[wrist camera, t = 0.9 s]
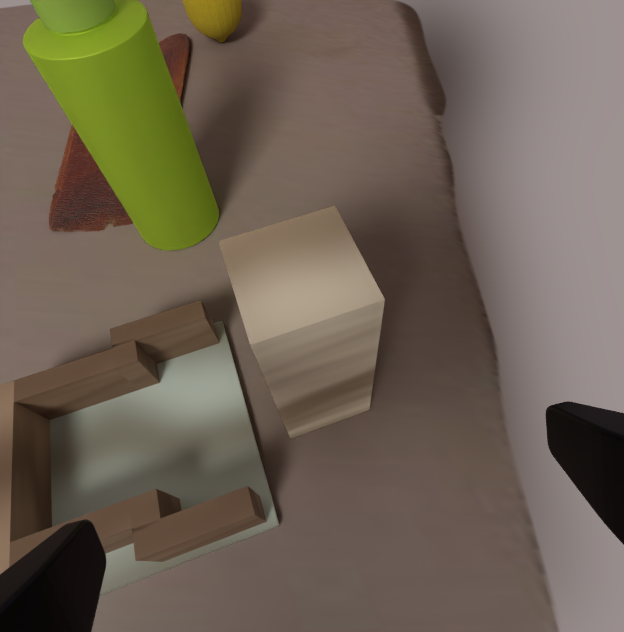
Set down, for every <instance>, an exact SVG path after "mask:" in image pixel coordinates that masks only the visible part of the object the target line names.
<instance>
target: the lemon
mask: <svg viewBox="0 0 624 632" xmlns="http://www.w3.org/2000/svg"><path fill="white" fill-rule="evenodd" d="M183 4H184V7H185V10H186V13H187V15H188V17H189V19H190V21H191V22H192V24H193V25H194V26H195V28H196V29H197V30H198V31H199V32H201V33H202V34H204V35H205V36H207V37H210V38H215V39H216V40H217V41H219V42H224V41H225V40H226V38H227V36H229V35H230V34H232V33H233V32H234V31H235V29H236V28H237V26H238V24H239V22H240V19H241V13H242V0H183Z"/></svg>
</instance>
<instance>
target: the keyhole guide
mask: <svg viewBox="0 0 624 632" xmlns="http://www.w3.org/2000/svg"><path fill="white" fill-rule="evenodd" d="M110 333H111V342H112V349H109V350H106V351H103V352H100V353H97V354H94V355H91V356H88V357H85V358H82V359H79V360H76V361H73V362H69V363H66V364H63V365H60V366H57V367H54V368H51V369H48V370H45V371H42V372H39V373H36V374H33V375H30V376H27V377H24V378H20V379H17V380H14V381H11V382H8V383H5V384H2V385H0V574H1V573H3V572H4V571H5V570H6V569H8V568H9V567H10V566H12V565H13V564H14V563H16V562H17V561H18V560H19V559H21V558H22V557H23V556H25V555H26V554H27V553H29V552H30V551H31V550H32V549H34V548H35V547H36V546H38V545H39V544H40V543H41V542H43V541H44V540H45V539H47V538H48V537H49V536H51V535H52V534H53V533H54V532H56V531H57V530H58V529H60V528H61V527H62V526H64V525H65V524H68V523H72V522H76V521H80V520H84V519H87V520H90V521H91V522H92V523H93V525H94V527H95V529H96V532H97V534H98V536H99V539H100V541H101V544H102V546H103V548H104V551H105V554H106V570H105V574H104V578H103V583H102V587H101V591H100V595H102V594H105V593H107V592H110V591H113V590H115V589H118V588H120V587H123V586H125V585H128V584H130V583H133V582H136V581H138V580H141V579H143V578H146V577H148V576H151V575H154V574H156V573H159V572H161V571H164V570H166V569H169V568H171V567H174V566H177V565H179V564H182V563H184V562H187V561H189V560H192V559H194V558H197V557H200V556H202V555H205V554H207V553H210V552H212V551H215V550H218V549H220V548H223V547H225V546H228V545H230V544H233V543H235V542H238V541H241V540H243V539H246V538H248V537H251V536H253V535H256V534H258V533H261V532H264V531H266V530H269V529H271V528H274V527H276V526H279V521H278V518H277V514H276V510H275V507H274V503H273V500H272V496H271V492H270V489H269V485H268V482H267V478H266V474H265V471H264V467H263V464H262V460H261V456H260V453H259V449H258V446H257V442H256V438H255V435H254V431H253V427H252V424H251V420H250V417H249V413H248V409H247V406H246V402H245V399H244V395H243V391H242V388H241V384H240V381H239V377H238V373H237V370H236V366H235V362H234V359H233V355H232V352H231V348H230V344H229V341H228V337H227V334H226V330H225V326H224V323H223V321H222V320H221V321H218V322H215V323H213V322H212V320H211V318H210V316H209V314H208V312H207V311H206V309H205V307H204V305H203V303H202V301H201V300H199V301H196V302H192V303H189V304H186V305H183V306H180V307H177V308H174V309H171V310H168V311H164V312H161V313H158V314H155V315H152V316H149V317H146V318H143V319H140V320H136V321H133V322H130V323H127V324H124V325H121V326H118V327H115V328H112V329H110Z"/></svg>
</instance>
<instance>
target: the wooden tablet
mask: <svg viewBox="0 0 624 632" xmlns="http://www.w3.org/2000/svg"><path fill="white" fill-rule="evenodd" d="M159 46H160V48H161V51H162V54H163V57H164V59H165V62H166V65H167V68H168V70H169V73H170V76H171V79H172V81H173V84H174V87H175V90H176V93H177V95H178V98H179V101H180V100H181V95H182V91H183V84H184V78H185V72H186V68H187V64H188V57H189V50H190V42H189V38H188V36H187V35H186V34H175V35H172V36H170V37H167V38H165V39H164V40H163V41H161V42H160V43H159ZM55 191H56V192H55V193H54V195H53V200H52V203H51V207H50V214H49V226H50V229H51V230H52V231H64V232H66V231H67V232H69V231H76V230H79V231H100V230H104V229H105V228H106V227H107V226H110V225H111V226H114V227H115V226H121V225H129V224H132V223H133V221H132V220H131V218H130V217H129V215H128V213H127V212H126V210H125V209H124V207H123V205H122V204H121V202H120V201H119V199H118V197H117V196H116V194H115V192H114V191H113V189H112V188H111V186H110V184H109V183H108V181H107V180H106V178H105V176H104V175H103V173H102V172H101V170H100V168H99V167H98V165H97V164H96V162H95V160H94V159H93V157H92V155H91V154H90V152H89V151H88V149H87V147H86V146H85V144H84V143H83V141H82V139H81V138H80V136H79V135H78V133H77V131H76V130H75V128H74V127H73V125H72V126H71V130H70V134H69V137H68V141H67V144H66V148H65V152H64V156H63V160H62V164H61V167H60V171H59V175H58V178H57V182H56V186H55Z"/></svg>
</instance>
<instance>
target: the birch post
mask: <svg viewBox="0 0 624 632" xmlns="http://www.w3.org/2000/svg"><path fill="white" fill-rule="evenodd" d="M219 244H220V248H221V251H222V254H223V258H224V261H225V264H226V267H227V271H228V274H229V277H230V280H231V284H232V287H233V290H234V293H235V297H236V300H237V303H238V307H239V310H240V313H241V316H242V320H243V323H244V326H245V329H246V333H247V336H248V339H249V342H250V346H251V348H252V350H253V353H254V355H255V357H256V360H257V362H258V364H259V367H260V369H261V371H262V374H263V376H264V378H265V381H266V383H267V385H268V388H269V390H270V392H271V395H272V397H273V399H274V402H275V404H276V406H277V408H278V411H279V413H280V415H281V418H282V420H283V422H284V425H285V427H286V429H287V432H288V434H289V436H290V439H292V438H294V437H297V436H300V435H303V434H305V433H308V432H311V431H314V430H316V429H319V428H322V427H324V426H327V425H330V424H333V423H335V422H338V421H341V420H343V419H346V418H349V417H352V416H354V415H357V414H360V413H362V412H365V411H368V410H369V409H370V402H371V394H372V387H373V380H374V373H375V366H376V359H377V352H378V345H379V338H380V331H381V324H382V317H383V310H384V302H385V299H384V297H383V295H382V293H381V291H380V289H379V287H378V285H377V284H376V282H375V280H374V278H373V276H372V274H371V272H370V270H369V269H368V267H367V265H366V263H365V261H364V259H363V257H362V255H361V253H360V252H359V250H358V248H357V246H356V244H355V242H354V240H353V238H352V237H351V235H350V233H349V231H348V229H347V227H346V225H345V223H344V221H343V220H342V218H341V216H340V214H339V212H338V210H337V208H336V206H332V207H328V208H325V209H322V210H319V211H315V212H312V213H309V214H306V215H302V216H299V217H296V218H292V219H289V220H286V221H283V222H279V223H276V224H273V225H270V226H266V227H263V228H260V229H257V230H253V231H250V232H247V233H244V234H240V235H237V236H234V237H231V238H227V239H224V240H221V241H219Z"/></svg>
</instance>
